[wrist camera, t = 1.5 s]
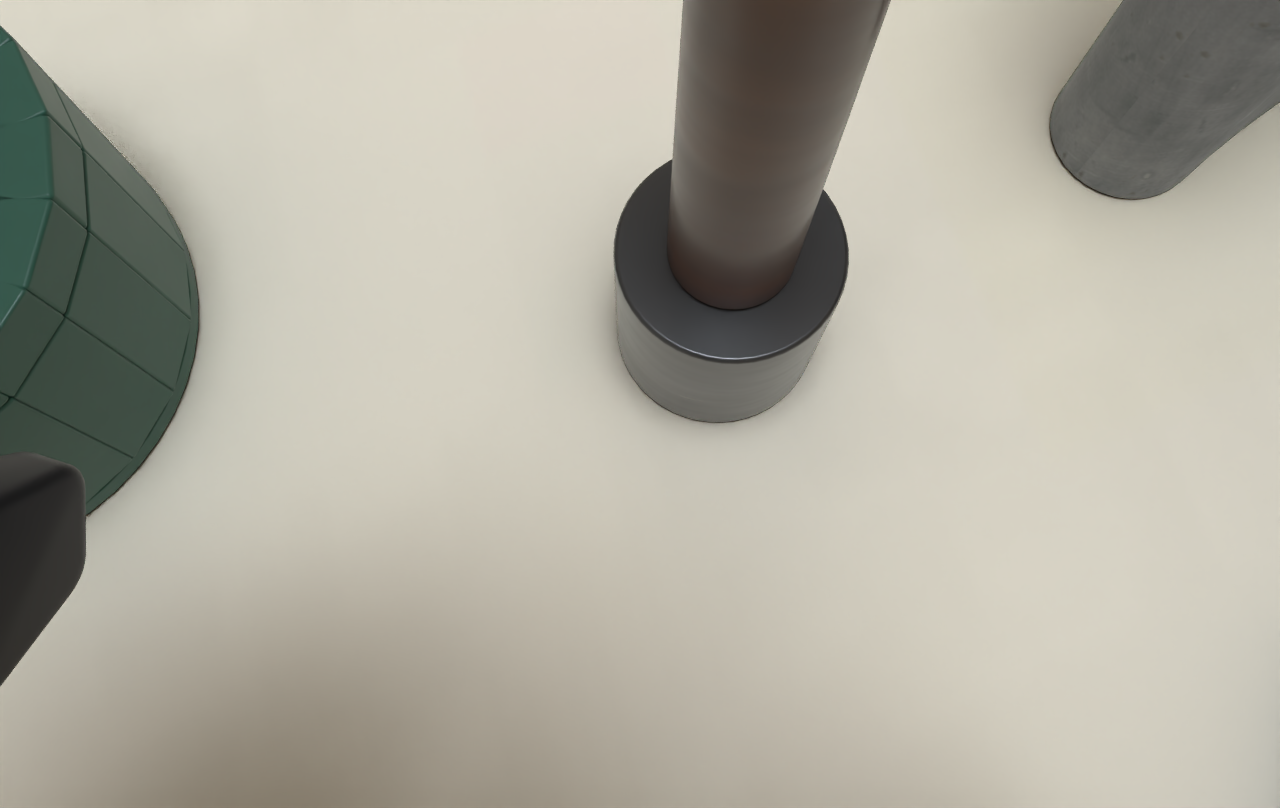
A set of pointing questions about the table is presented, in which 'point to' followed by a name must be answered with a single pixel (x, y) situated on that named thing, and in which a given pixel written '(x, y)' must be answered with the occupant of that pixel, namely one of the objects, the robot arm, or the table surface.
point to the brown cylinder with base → (742, 206)
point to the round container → (84, 289)
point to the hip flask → (1166, 91)
